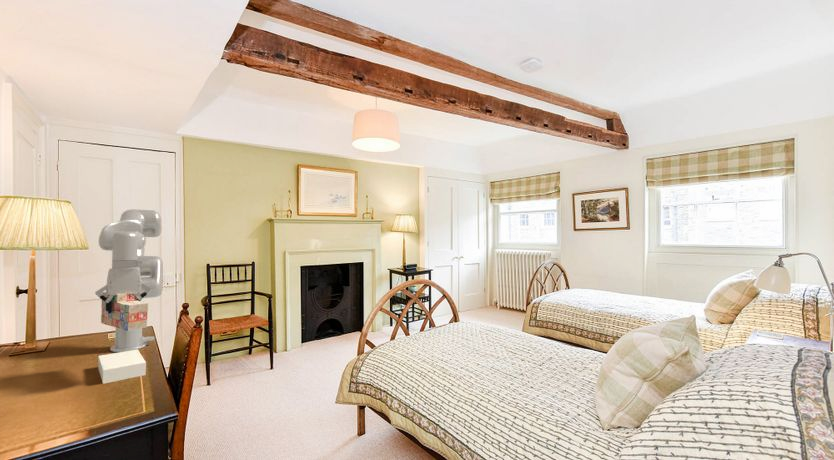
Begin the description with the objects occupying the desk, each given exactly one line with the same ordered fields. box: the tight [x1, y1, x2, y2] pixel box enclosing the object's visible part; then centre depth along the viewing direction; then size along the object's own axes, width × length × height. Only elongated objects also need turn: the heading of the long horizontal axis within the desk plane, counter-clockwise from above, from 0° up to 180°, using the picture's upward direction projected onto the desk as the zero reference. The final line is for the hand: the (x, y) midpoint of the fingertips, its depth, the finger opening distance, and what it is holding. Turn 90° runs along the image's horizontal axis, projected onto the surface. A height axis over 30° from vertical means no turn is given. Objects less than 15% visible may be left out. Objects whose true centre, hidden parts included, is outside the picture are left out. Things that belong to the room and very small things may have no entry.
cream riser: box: [97, 349, 147, 385], centre depth 137 cm, size 12×20×5 cm, turn 45°
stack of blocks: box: [100, 290, 149, 331], centre depth 137 cm, size 21×6×12 cm, turn 61°
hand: (123, 311), depth 137 cm, fingers closed on stack of blocks, 7 cm apart
